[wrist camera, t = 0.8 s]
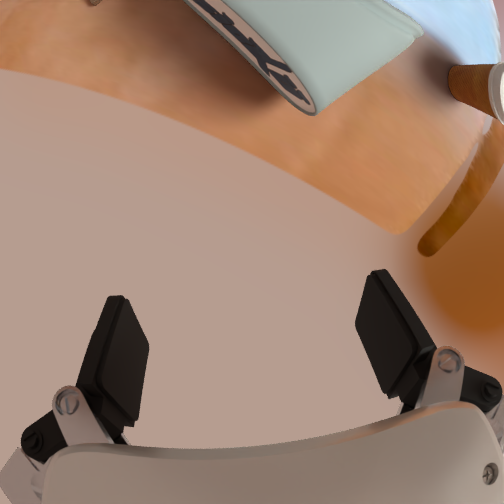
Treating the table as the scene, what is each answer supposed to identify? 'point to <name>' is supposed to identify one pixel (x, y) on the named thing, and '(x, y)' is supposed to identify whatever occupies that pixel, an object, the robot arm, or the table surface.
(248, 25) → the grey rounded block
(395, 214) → the table surface
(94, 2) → the end cap board
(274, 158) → the table surface
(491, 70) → the disposable coffee cup
